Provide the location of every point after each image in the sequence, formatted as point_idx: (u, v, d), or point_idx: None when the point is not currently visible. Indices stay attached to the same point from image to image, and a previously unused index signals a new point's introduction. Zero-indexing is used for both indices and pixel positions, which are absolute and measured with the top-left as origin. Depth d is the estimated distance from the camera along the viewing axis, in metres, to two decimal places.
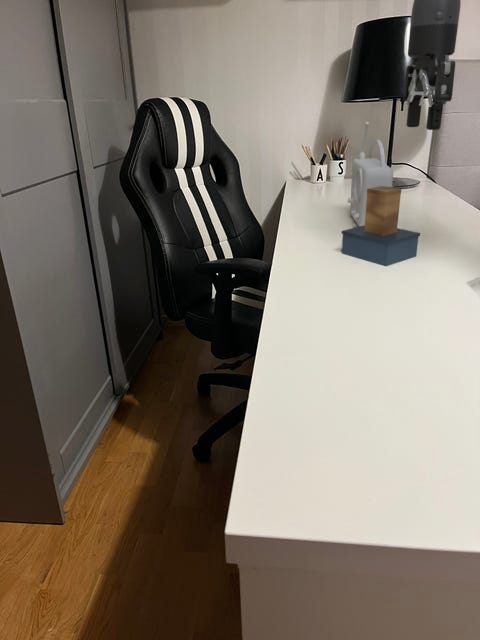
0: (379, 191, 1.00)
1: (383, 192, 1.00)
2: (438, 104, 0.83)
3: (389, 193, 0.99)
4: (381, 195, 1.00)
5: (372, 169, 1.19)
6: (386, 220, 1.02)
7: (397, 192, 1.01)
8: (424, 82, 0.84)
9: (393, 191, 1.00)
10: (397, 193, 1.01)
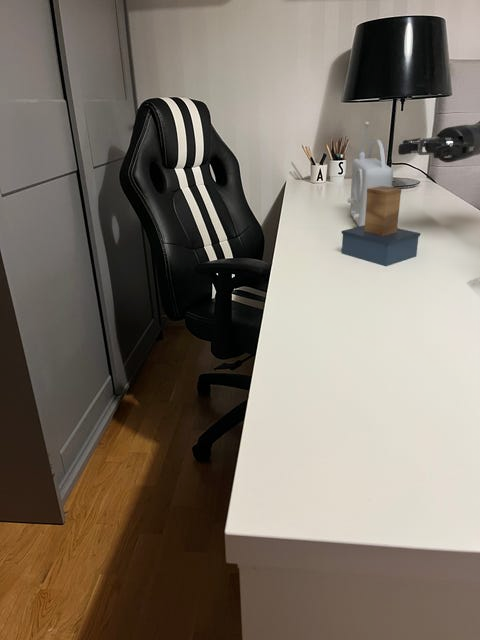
0: (379, 191, 1.00)
1: (383, 192, 1.00)
2: None
3: (389, 193, 0.99)
4: (381, 195, 1.00)
5: (372, 169, 1.19)
6: (386, 220, 1.02)
7: (397, 192, 1.01)
8: None
9: (393, 191, 1.00)
10: (397, 193, 1.01)
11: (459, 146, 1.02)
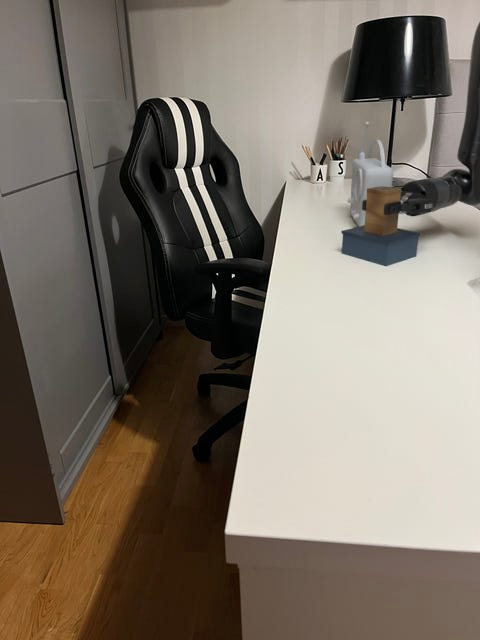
0: (379, 191, 1.00)
1: (383, 192, 1.00)
2: None
3: (389, 193, 0.99)
4: (381, 195, 1.00)
5: (372, 169, 1.19)
6: (386, 220, 1.02)
7: (397, 192, 1.01)
8: None
9: (393, 191, 1.00)
10: (397, 193, 1.01)
11: (409, 203, 1.00)
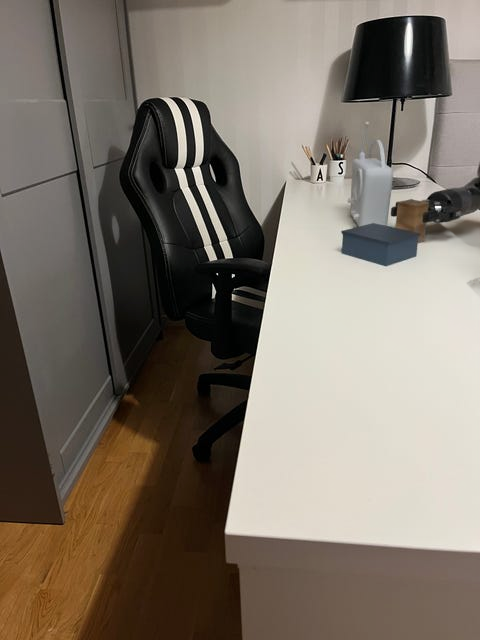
0: (409, 204, 1.11)
1: (413, 205, 1.11)
2: None
3: (418, 206, 1.11)
4: (411, 208, 1.11)
5: (372, 169, 1.19)
6: (415, 231, 1.13)
7: (425, 205, 1.12)
8: None
9: (422, 204, 1.11)
10: (425, 206, 1.12)
11: (446, 212, 1.10)
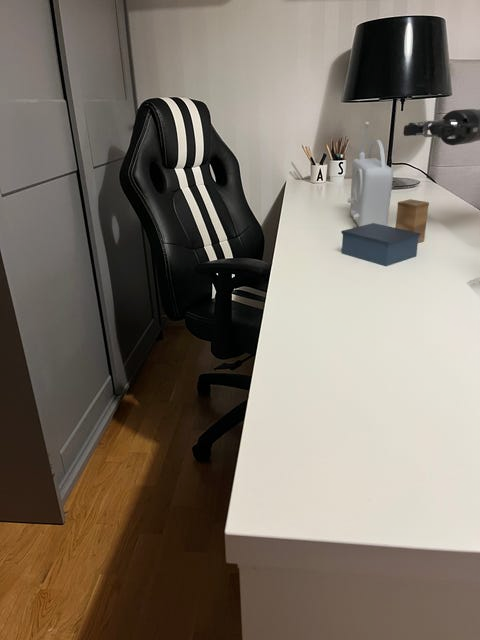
0: (409, 204, 1.11)
1: (413, 205, 1.11)
2: None
3: (418, 206, 1.11)
4: (411, 208, 1.11)
5: (372, 169, 1.19)
6: (415, 231, 1.13)
7: (425, 205, 1.12)
8: (430, 136, 1.14)
9: (422, 204, 1.11)
10: (425, 206, 1.12)
11: (463, 126, 1.04)
